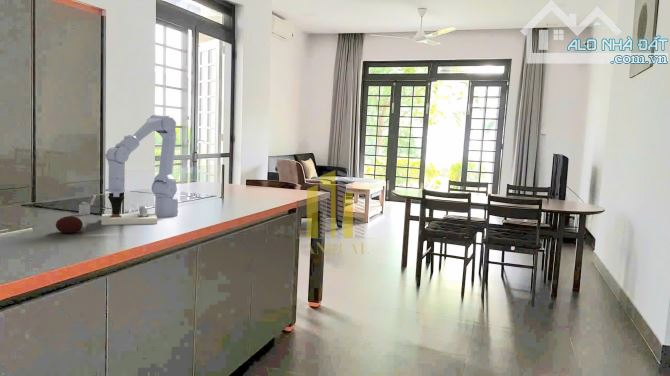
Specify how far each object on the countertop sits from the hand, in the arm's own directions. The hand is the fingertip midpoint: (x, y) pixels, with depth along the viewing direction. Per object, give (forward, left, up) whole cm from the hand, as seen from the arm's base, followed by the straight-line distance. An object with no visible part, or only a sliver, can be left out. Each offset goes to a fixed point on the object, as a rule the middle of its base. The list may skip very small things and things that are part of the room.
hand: (116, 212), depth 186 cm
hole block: (-5, 0, -5) cm, 7 cm away
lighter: (+11, -22, -5) cm, 25 cm away
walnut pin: (0, 0, -4) cm, 4 cm away
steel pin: (-10, 0, -4) cm, 11 cm away
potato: (+15, +14, -5) cm, 21 cm away
